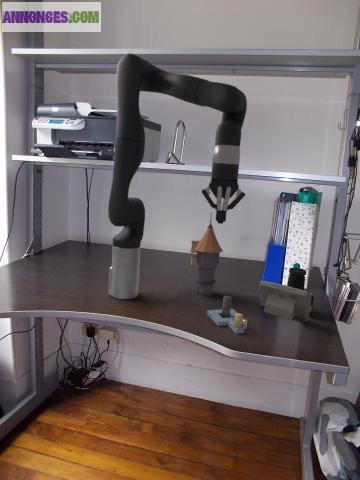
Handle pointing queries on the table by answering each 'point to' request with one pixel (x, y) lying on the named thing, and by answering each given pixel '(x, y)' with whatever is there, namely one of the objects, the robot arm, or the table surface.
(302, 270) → the scope
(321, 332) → the table surface
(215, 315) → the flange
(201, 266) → the model tower
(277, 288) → the digital clock
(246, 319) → the dowel
